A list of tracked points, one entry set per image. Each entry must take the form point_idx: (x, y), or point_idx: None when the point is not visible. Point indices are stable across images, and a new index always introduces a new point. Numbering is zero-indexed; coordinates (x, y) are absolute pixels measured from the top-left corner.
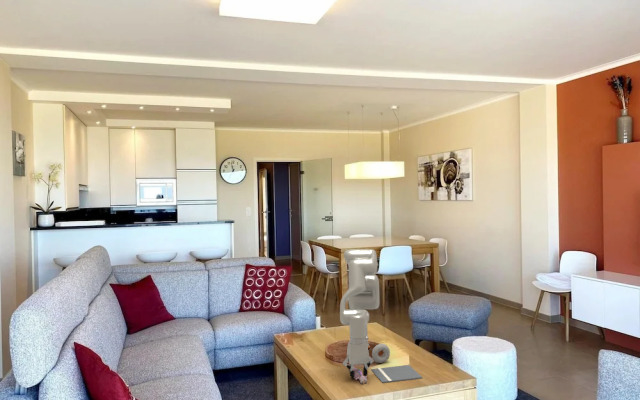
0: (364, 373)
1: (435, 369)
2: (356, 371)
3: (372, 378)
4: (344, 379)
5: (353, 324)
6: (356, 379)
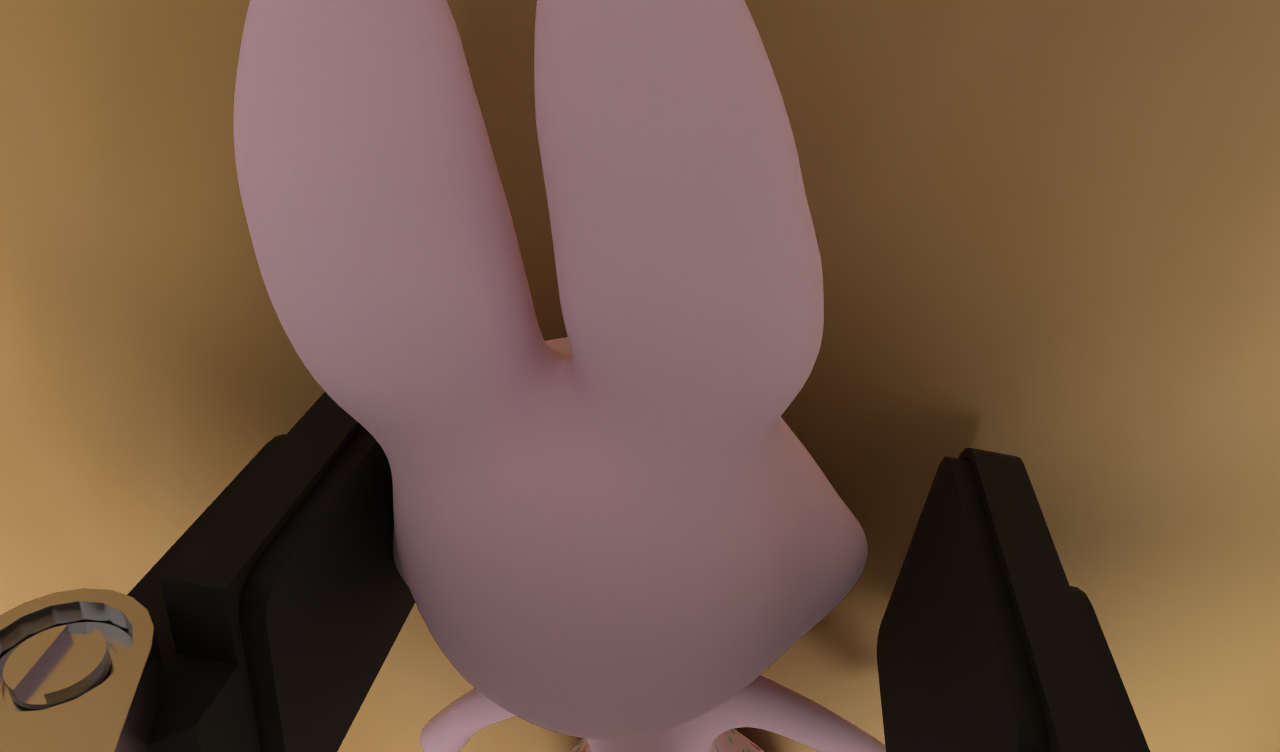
0: (911, 699)
1: None
2: (504, 708)
3: (1156, 647)
4: (153, 284)
5: None
6: (452, 745)
